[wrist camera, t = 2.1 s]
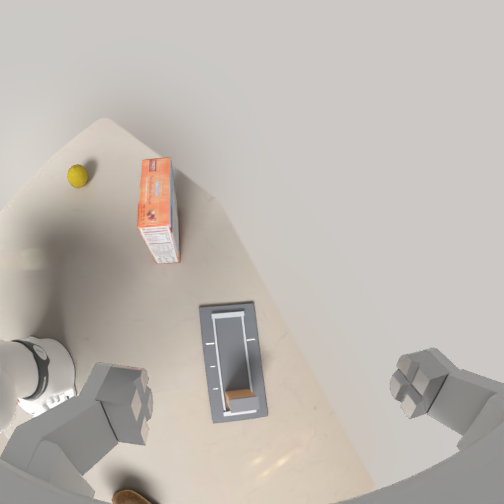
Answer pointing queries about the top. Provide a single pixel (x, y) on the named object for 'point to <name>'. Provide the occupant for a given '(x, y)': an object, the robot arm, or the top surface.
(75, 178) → the lemon
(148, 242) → the cracker box
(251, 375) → the grey fader base
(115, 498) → the tan ugg boot
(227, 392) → the fader cap
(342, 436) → the top surface
